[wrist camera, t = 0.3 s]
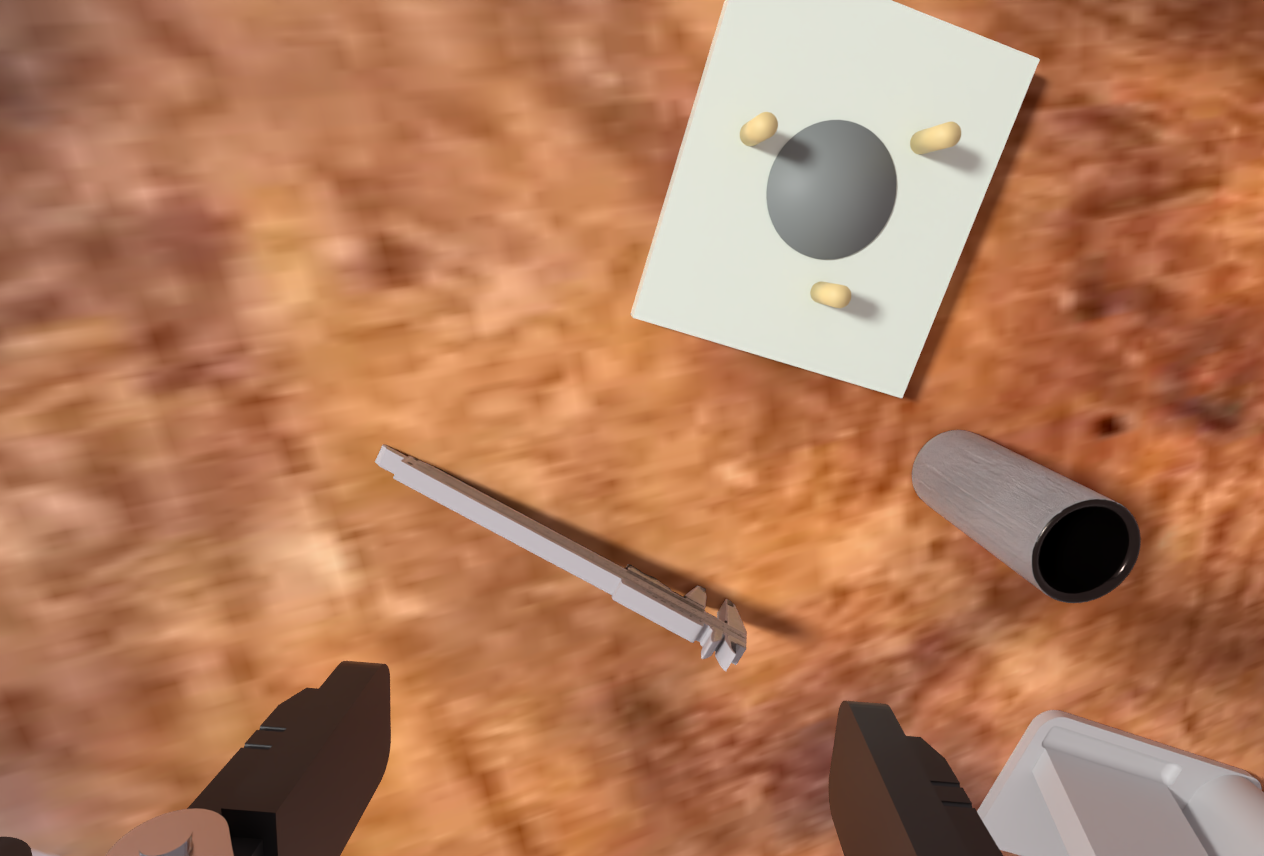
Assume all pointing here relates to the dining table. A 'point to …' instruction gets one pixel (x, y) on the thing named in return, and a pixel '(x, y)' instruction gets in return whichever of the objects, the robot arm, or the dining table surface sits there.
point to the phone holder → (1118, 796)
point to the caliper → (581, 561)
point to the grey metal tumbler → (1029, 516)
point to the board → (830, 183)
